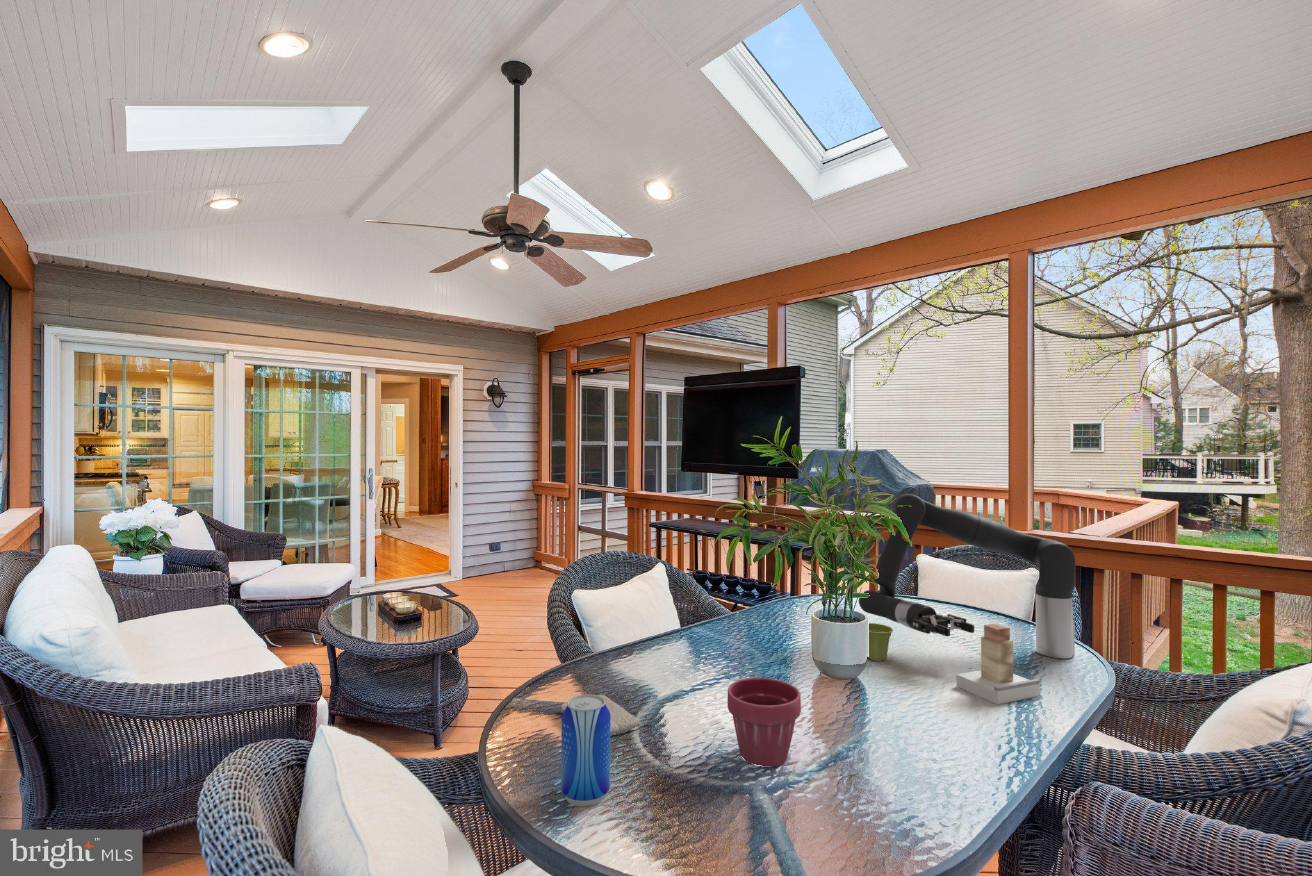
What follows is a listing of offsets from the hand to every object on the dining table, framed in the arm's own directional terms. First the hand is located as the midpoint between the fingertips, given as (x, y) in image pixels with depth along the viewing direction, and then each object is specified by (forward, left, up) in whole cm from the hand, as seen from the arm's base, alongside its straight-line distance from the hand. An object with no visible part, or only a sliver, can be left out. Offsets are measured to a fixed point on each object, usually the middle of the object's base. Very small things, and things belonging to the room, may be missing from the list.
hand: (961, 630), depth 167 cm
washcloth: (+98, -8, -13) cm, 99 cm away
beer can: (+108, +20, -12) cm, 111 cm away
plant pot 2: (+11, -20, -12) cm, 26 cm away
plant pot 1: (+72, +19, -12) cm, 76 cm away
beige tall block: (0, +11, -9) cm, 14 cm away
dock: (0, +11, -12) cm, 16 cm away
